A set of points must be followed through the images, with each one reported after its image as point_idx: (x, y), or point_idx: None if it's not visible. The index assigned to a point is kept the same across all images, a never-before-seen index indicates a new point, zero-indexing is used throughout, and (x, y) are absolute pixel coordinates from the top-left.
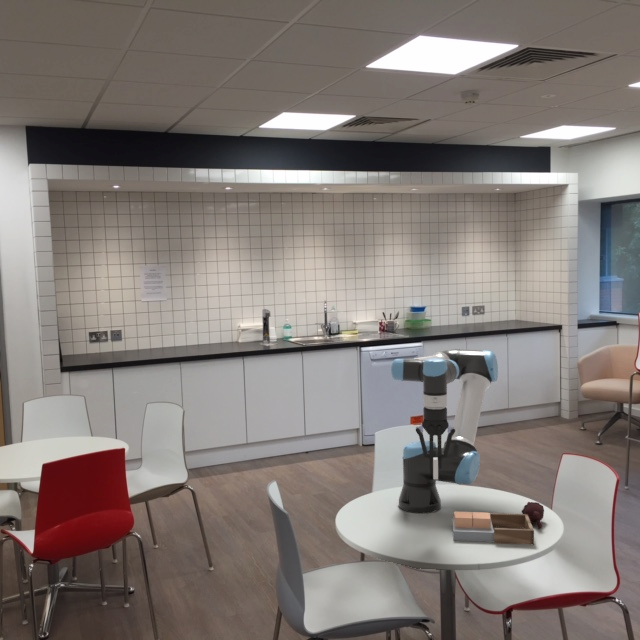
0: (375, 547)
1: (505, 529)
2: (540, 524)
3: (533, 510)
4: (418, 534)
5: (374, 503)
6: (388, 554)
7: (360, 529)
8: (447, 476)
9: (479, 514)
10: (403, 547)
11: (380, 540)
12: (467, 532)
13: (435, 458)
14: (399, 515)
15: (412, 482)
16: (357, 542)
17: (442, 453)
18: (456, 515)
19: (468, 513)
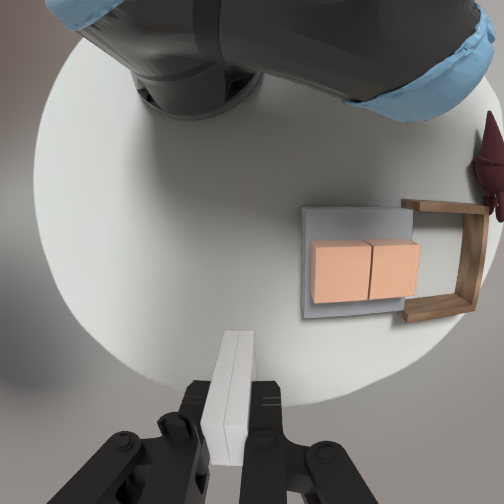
0: (128, 353)
1: (429, 318)
2: (492, 212)
3: (501, 189)
4: (206, 280)
5: (84, 85)
6: (161, 381)
7: (75, 263)
8: (304, 85)
9: (392, 264)
10: (182, 353)
11: (127, 321)
12: (340, 315)
13: (226, 445)
14: (143, 148)
15: (143, 74)
16: (91, 331)
17: (295, 479)
18: (321, 284)
19: (361, 260)
